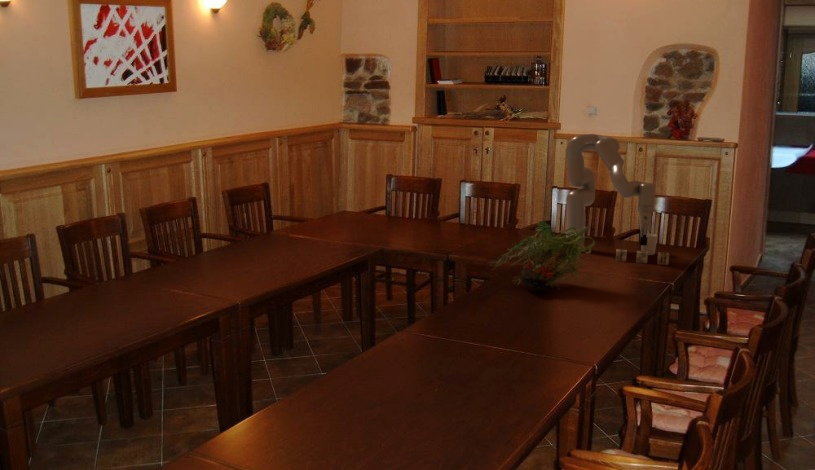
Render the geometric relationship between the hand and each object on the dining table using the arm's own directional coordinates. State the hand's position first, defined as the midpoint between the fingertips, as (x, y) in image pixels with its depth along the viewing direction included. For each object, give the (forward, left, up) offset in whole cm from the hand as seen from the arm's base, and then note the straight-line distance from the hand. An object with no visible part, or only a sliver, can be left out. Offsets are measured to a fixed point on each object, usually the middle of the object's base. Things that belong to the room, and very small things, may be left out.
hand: (643, 245), depth 418 cm
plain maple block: (0, 0, -9) cm, 9 cm away
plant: (-67, -37, -9) cm, 77 cm away
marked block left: (-9, +5, -9) cm, 13 cm away
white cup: (+12, +16, -9) cm, 22 cm away
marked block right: (+9, -5, -9) cm, 13 cm away
